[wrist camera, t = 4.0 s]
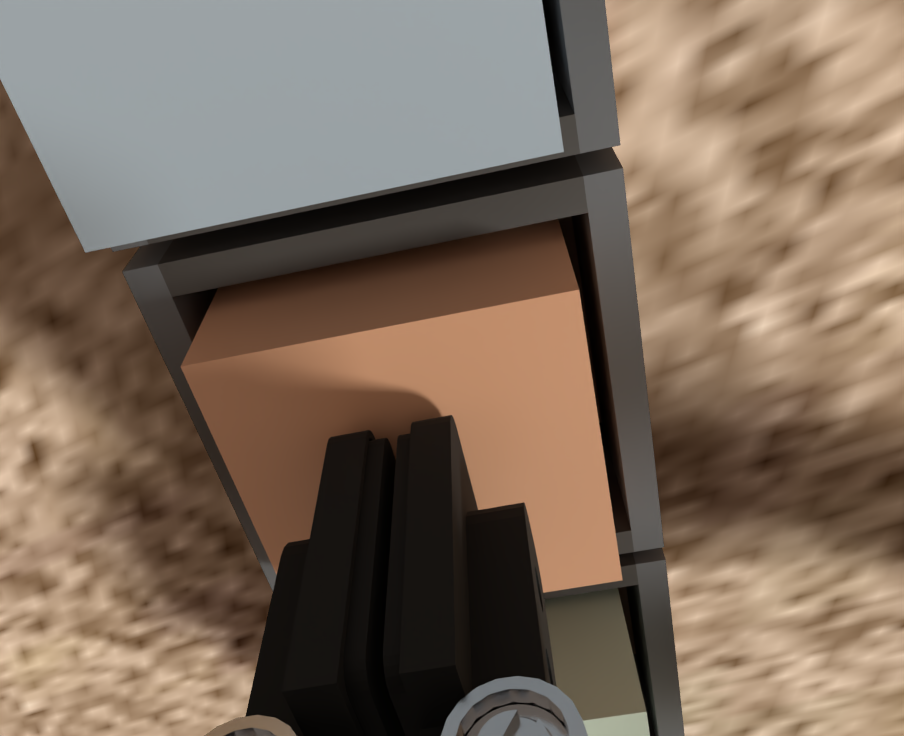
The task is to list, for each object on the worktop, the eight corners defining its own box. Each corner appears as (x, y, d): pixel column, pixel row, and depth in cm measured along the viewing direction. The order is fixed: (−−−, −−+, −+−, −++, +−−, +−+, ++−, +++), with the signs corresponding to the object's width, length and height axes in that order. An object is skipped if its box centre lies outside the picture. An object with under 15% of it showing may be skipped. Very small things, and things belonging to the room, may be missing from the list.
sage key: (629, 689, 19) (669, 875, 16) (413, 721, 20) (407, 907, 16) (604, 529, 16) (646, 712, 13) (354, 570, 17) (333, 755, 14)
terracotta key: (584, 421, 16) (622, 580, 13) (330, 466, 17) (301, 631, 13) (544, 172, 13) (578, 289, 10) (243, 235, 14) (180, 367, 11)
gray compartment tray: (654, 647, 22) (693, 799, 18) (394, 685, 22) (387, 839, 19) (463, -835, 9) (478, -1238, 6) (-126, -637, 10) (-432, -888, 6)
